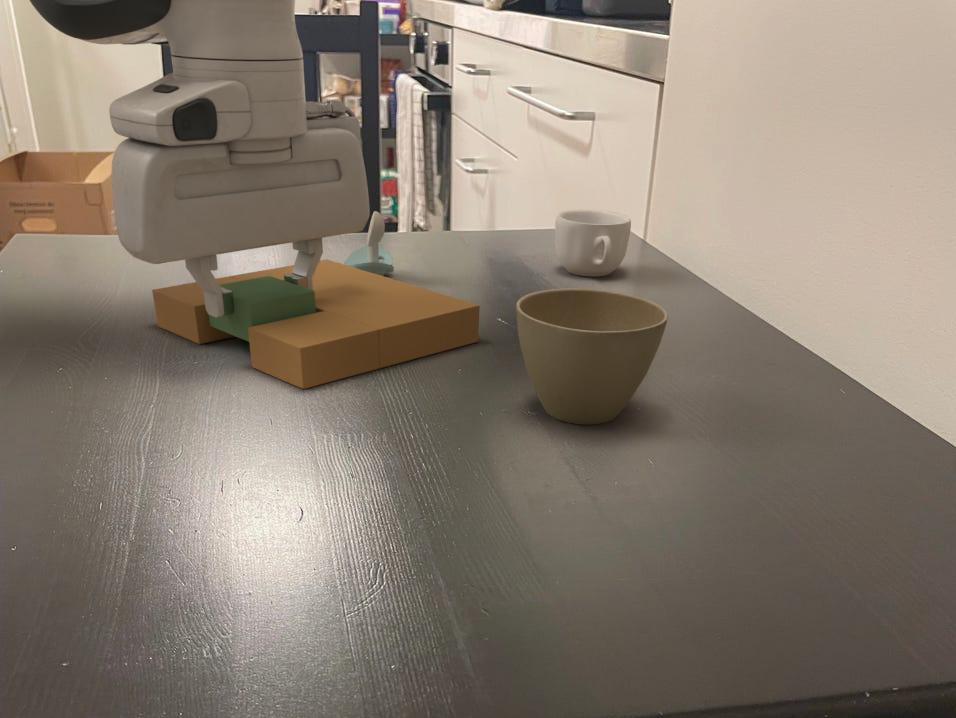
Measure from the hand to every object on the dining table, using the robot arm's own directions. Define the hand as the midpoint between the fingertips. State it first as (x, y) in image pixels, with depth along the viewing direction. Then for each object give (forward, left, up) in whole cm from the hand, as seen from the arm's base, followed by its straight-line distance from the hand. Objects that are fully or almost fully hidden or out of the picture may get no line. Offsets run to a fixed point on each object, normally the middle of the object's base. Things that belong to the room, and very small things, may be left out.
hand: (261, 306), depth 75 cm
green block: (0, 0, -2) cm, 2 cm away
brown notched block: (0, +5, -3) cm, 6 cm away
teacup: (+1, +40, -3) cm, 40 cm away
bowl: (+26, +8, -3) cm, 28 cm away
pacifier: (-12, +20, -3) cm, 24 cm away
